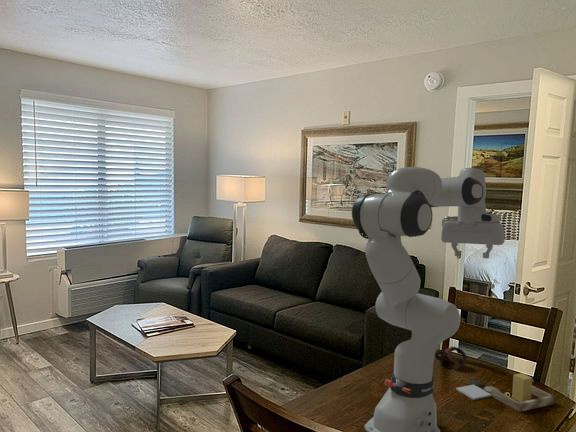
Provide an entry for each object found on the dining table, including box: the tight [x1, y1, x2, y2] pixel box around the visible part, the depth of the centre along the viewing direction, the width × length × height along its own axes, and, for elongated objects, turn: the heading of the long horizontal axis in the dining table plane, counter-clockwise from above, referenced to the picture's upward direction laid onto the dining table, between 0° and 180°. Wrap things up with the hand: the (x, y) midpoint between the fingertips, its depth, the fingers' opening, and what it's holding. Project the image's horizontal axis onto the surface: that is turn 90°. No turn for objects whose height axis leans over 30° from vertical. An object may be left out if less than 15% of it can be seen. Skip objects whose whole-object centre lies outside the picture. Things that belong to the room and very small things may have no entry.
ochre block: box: [511, 372, 533, 402], centre depth 149 cm, size 4×4×8 cm
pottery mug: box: [434, 346, 468, 370], centre depth 176 cm, size 12×10×8 cm
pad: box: [455, 384, 492, 401], centre depth 153 cm, size 8×8×1 cm
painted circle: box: [483, 385, 501, 394], centre depth 155 cm, size 5×5×1 cm
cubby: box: [491, 385, 556, 413], centre depth 148 cm, size 16×11×2 cm
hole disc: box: [468, 379, 485, 388], centre depth 160 cm, size 5×5×1 cm
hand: (471, 257), depth 150 cm, fingers open, 8 cm apart
